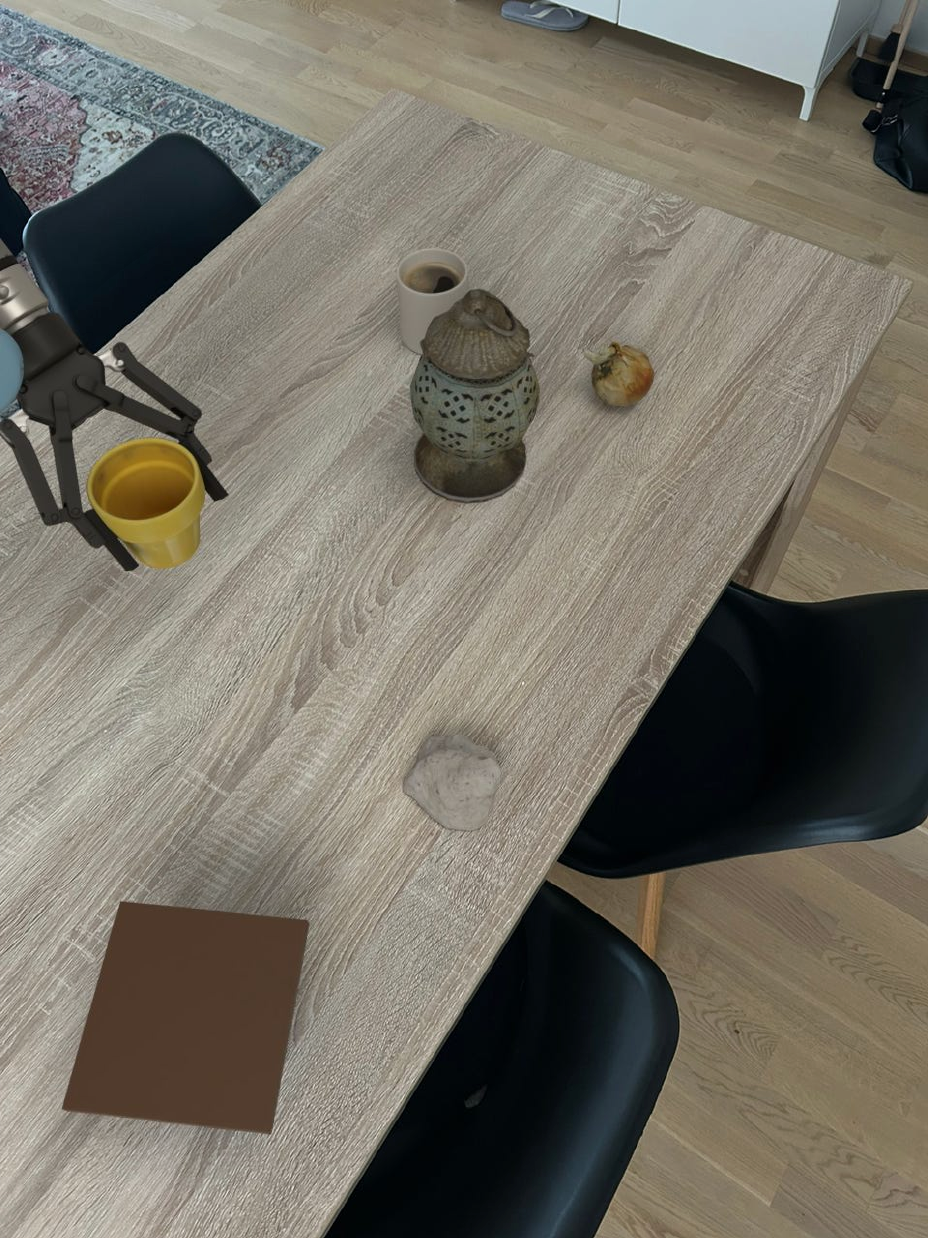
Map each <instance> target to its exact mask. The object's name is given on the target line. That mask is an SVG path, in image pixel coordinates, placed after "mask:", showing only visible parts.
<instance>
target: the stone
mask: <svg viewBox="0 0 928 1238" xmlns="http://www.w3.org/2000/svg"><path fill="white" fill-rule="evenodd" d="M502 776H503V771H502V769H501V767H500V765H499V762H498V759H497V757H496V755H495V753H494V752H493V751H492V750H491V749H489V748H488V746H487V745H478V744H477V743H475V742H474V741H473V740H471V739H470V738H468V737H467V736H463V735H460V734H453V735H437V734H435V735H431V736H430V737H425V739H424V742H423V743H422V745H421V747H420V749H419V750H418V752H417V762H416V763H415V765H414V766H413V767H412V768H411V770H410V771H409V772H408V773H407V775H406V777H405V778H404V780H403V783H402V784H403V785H402V790H403V791H404V793H405V795H407V796H410V797H411V798H413V799H414V800H415V801H416V802H417V804H418V805H419V806H420V808H422V809H423V810H424V811H425V812H426V813H427V814H428V815H429V816H430V817H431V818H432V819H433V820H435V821H436V822H437V823H438V824H439V825H441V826H442V827H444V828H446V829H450V830H455V831H467V832H471V831H476V830H478V829H480V828H481V827H482V826H484V824H486V822H487V821H488V819H489V815H490V811H491V809H492V806H493V802H494V798H495V797H494V796H495V793H496V791H497V790H498V788H499V786H500V783H501V780H502Z"/></svg>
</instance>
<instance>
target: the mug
mask: <svg viewBox="0 0 928 1238" xmlns="http://www.w3.org/2000/svg"><path fill="white" fill-rule="evenodd" d="M468 268H469V267H468V265H467V263H466V261H465V260H464V259H463V257H461V256H460V255H459V254H458V253H456V252H454V251H451V250H448V249H445V248H441V247H426V248H422V249H417V250H414V251H412V252H410V253H408V254H407V255H405V256H404V257H403V258H402V259H401V260H400V261H399V263H398V264H397V267H396V270H395V278H396V289H397V290H396V291H397V302H398V316H399V327H400V337H401V340H402V343H404V345H405V346H406V347H407V348H408V349H409V350H410V351H412V352H414V353H415V354H418V355H420V356H421V355H422V354H423V351H422V349H421V346H420V341H421V340H423V339H424V338H425V335H426V332H427V329H428V327H429V325H430V324H431V322H432V320H433V319H434V317H436V316H438V315H440V314H443V313H445V312H447V311H448V310H449V309H450V308H451V307H452V306H453V305H454V303H455V302H457V301H458V300H460V299H462V298H463V297H464V296H465V294H466V293H467V292H468V291H469V269H468Z"/></svg>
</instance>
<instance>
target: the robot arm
mask: <svg viewBox="0 0 928 1238" xmlns="http://www.w3.org/2000/svg"><path fill="white" fill-rule="evenodd" d="M49 306H50V300H49V299H48V298H47V296H46V295H45V294H44V293H43V291H42V290H41V289H40V288H39V286H38V285H37V284H36V283H35V281H34V280H33V279H32V278H31V276H30V274H29V273H28V272H27V271H26V270H25V268H24V267H23V266H22V264H21V263H20V262H19V261H18V259H17V258H16V257H15V255H14V254H13V253H12V251H10V249H9V248H8V246H7V245H6V244H5V243H4V241H3V240H2V239H1V238H0V414H1V413H2V412H4V411H5V410H6V409H8V408H9V407H10V405H12V403H13V402H14V400H15V399H16V401H17V404H18V408H19V410H17V411H16V412H15V413H14V414H12V415H11V416H10V417H8V418H4V419H2V420H1V421H0V437H1V439H2V440H3V441H4V442H5V443H6V444H7V445H8V446H9V447H10V449H11V450H12V453H13V455H14V457H15V460H16V462H17V464H18V467H19V469H20V471H21V474H22V476H23V478H24V480H25V483H26V485H27V487H28V490H29V492H30V495H31V497H32V500H33V501H34V505H35V506H36V509H37V511H38V514H39V516H40V518H41V521H42V523H43V524H44V525H45V526H46V527H47V526H48V527H53V526H56V525H60V524H65V523H69V524H71V526H73V527H74V528H75V529H76V531H77V532H78V533H79V534H80V535H81V537H82V538H83V539H84V540H85V541H86V543H87V544H88V545H89V546H90V547H91V548H93V549H94V550H97V549H101V548H102V547H103V546H104V548H106V549H107V551H108V552H109V553H110V554H111V555H112V557H113V558H114V559H115V560H116V561H117V563H118V564H119V565H120V567H121V568H122V569H123V570H124V571H125V572H133V571H136V569H137V568H139V567H140V564H139V563H138V561H137V560H136V559H135V558H134V557H133V556H132V553H130V552H129V550H128V548H126V547H125V546H124V544H123V542H122V541H121V540H120V539H118V538H117V537H116V536H115V535H114V534H113V532H112V531H111V530H110V529H109V528H108V526H107V525H106V524H105V523H104V521H103V520H102V519H101V518H100V517H99V515H98V514H97V513H96V512H95V510H94V509H92V508H91V509H87V510H86V511H84V509H83V502H82V495H81V491H80V490H81V489H80V481H79V477H78V469H77V464H76V463H77V462H76V457H75V450H74V444H73V439H74V435H73V431H75V430H76V429H77V428H79V427H80V426H81V425H83V424H84V423H85V422H86V421H87V420H88V419H90V418H92V417H93V418H94V416H96V415H98V414H99V413H100V412H102V411H103V410H106V411H108V412H113V413H116V414H118V415H121V416H123V417H125V418H127V419H130V420H132V421H134V422H136V423H138V424H141V425H143V426H145V427H148V428H150V429H152V430H155V431H157V432H159V433H161V434H164V435H165V436H168V437H170V438H172V439H175V440H177V441H178V442H177V443H178V444H180V445H182V446H183V447H185V448H186V449H187V450H188V451H189V452H190V453H191V454H192V455H193V456H194V458H195V459H196V461H197V463H198V466H199V469H200V472H201V475H202V479H203V483H204V488H205V493H207V495H208V496H209V497H210V498H211V500H212V501H213V503H215V502H218V501H223V500H224V499H226V498H227V497H229V495H230V494H229V493H228V491H227V490H226V489H225V487H224V486H223V485H222V484H221V482H220V481H219V480H218V478H217V477H216V475H215V474H214V473H213V472H212V470H211V469H210V467H208V466H209V464H211V463H212V462H213V458H212V455H211V454H210V453H209V451H208V450H207V448H206V447H205V446H204V445H203V443H202V442H201V440H200V439H199V438H198V437H197V435H196V433H195V429H196V428H195V427H196V425H197V424H198V422H199V421H200V419H201V418H202V417H203V412H202V409H201V408H199V407H198V406H197V405H196V404H194V402H192V401H190V399H188V398H187V397H185V396H184V395H183V394H181V393H180V392H179V391H178V390H176V389H175V388H173V387H172V386H171V385H170V384H168V383H167V382H166V381H165V380H163V379H162V378H160V376H158V375H156V373H154V372H153V371H152V370H150V369H149V368H147V367H146V366H145V365H144V364H142V363H141V362H140V361H139V360H138V359H137V358H136V356H135V354H134V353H133V352H132V350H131V349H130V348H129V346H128V345H127V344H126V343H125V342H123V341H118V342H117V343H115V344H114V345H113V346H112V347H111V348H109V350H107V351H106V352H104V353H102V354H100V355H99V356H98V355H95V354H93V353H92V352H91V351H89V350H88V349H87V347H85V346H84V344H83V343H82V341H81V339H79V337H78V336H77V335H76V334H75V332H74V331H73V330H72V328H71V327H70V326H69V325H68V323H67V322H66V321H65V320H64V318H63V317H62V316H61V314H60V313H59V312H55V311H54V310H53V311H50V312H49V311H48V308H49ZM106 368H107V369H110V370H111V371H112V372H114V373H121V375H123V377H125V378H126V379H127V380H128V381H130V382H131V383H132V384H134V385H135V386H136V387H138V388H139V389H140V390H141V391H142V392H144V393H145V394H147V395H148V396H149V397H151V398H152V399H153V400H155V401H156V402H157V403H158V404H160V405H161V406H163V407H164V408H165V409H167V410H168V411H169V412H171V413H172V414H173V415H174V416H176V417H177V418H176V417H174V416H172V415H169V414H167V413H164V412H163V411H160V410H158V409H156V408H154V407H152V406H149V405H147V404H145V403H143V402H140V401H138V400H136V399H134V398H132V397H129V396H128V395H126V394H125V393H124V392H122V391H120V390H117V389H115V388H113V387H111V386H110V385H109V386H108V385H107V384H106V383H107V382H106V380H107V379H106ZM178 418H179V419H178ZM28 420H29V421H33V422H36V423H39V424H41V425H43V426H48V430H49V437H50V443H51V445H52V448H53V455H54V462H55V469H56V476H57V481H58V482H57V483H58V489H59V495H60V502H61V507H62V508H59V506H58V504H57V501H56V499H55V496H54V494H53V492H52V489H51V487H50V485H49V483H48V480H47V477H46V476H45V473H44V470H43V468H42V466H41V464H40V461H39V459H38V456H37V454H36V451H35V449H34V446H33V445H32V442H31V441H30V439H29V438H28V436H29V434H30V428H29V426H28Z"/></svg>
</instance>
